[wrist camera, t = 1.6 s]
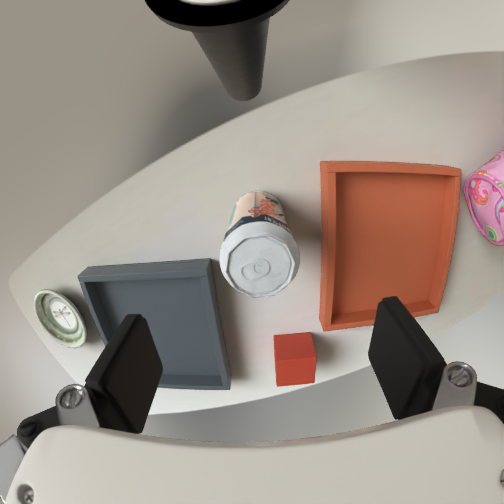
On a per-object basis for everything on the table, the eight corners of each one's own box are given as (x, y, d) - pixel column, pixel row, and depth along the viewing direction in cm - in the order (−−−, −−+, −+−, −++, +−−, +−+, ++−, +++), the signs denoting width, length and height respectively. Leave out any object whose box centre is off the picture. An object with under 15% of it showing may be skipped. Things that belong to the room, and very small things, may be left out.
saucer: (72, 346, 34) (65, 355, 32) (33, 298, 31) (25, 306, 29) (105, 327, 32) (97, 337, 30) (61, 270, 29) (50, 279, 27)
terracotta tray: (319, 161, 25) (326, 163, 22) (447, 165, 24) (461, 169, 21) (319, 318, 31) (323, 331, 29) (429, 301, 30) (438, 312, 28)
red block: (273, 335, 32) (275, 360, 28) (310, 331, 32) (317, 357, 28) (274, 361, 34) (276, 386, 30) (309, 358, 34) (314, 383, 29)
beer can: (290, 225, 27) (314, 284, 16) (247, 245, 28) (242, 315, 17) (269, 181, 25) (281, 211, 14) (224, 203, 26) (201, 249, 15)
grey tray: (87, 266, 29) (77, 276, 27) (210, 258, 28) (206, 269, 26) (129, 372, 36) (124, 384, 33) (231, 376, 35) (230, 390, 33)
